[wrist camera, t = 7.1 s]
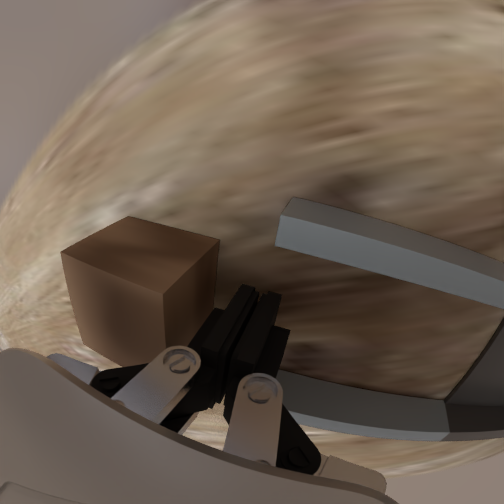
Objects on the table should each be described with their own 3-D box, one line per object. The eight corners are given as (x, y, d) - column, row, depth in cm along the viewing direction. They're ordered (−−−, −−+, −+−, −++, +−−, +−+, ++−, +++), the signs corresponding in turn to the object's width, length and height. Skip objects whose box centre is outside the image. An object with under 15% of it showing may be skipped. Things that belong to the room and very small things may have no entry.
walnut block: (219, 239, 12) (162, 293, 8) (211, 327, 14) (170, 389, 10) (128, 216, 13) (60, 251, 9) (133, 298, 15) (83, 343, 11)
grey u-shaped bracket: (588, 303, 6) (605, 324, 4) (513, 410, 11) (520, 434, 9) (293, 196, 10) (280, 214, 8) (252, 373, 15) (239, 407, 13)
